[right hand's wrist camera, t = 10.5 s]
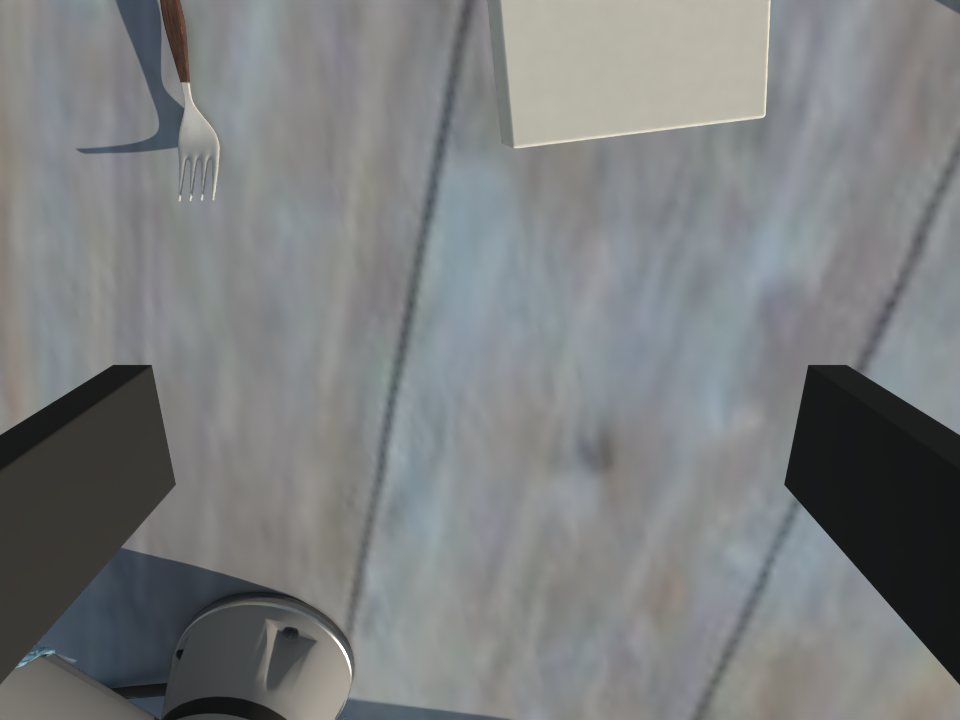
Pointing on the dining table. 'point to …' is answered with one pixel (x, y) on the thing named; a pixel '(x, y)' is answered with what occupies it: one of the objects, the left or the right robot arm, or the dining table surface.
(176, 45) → the fork
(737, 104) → the box
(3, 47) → the dining table surface
